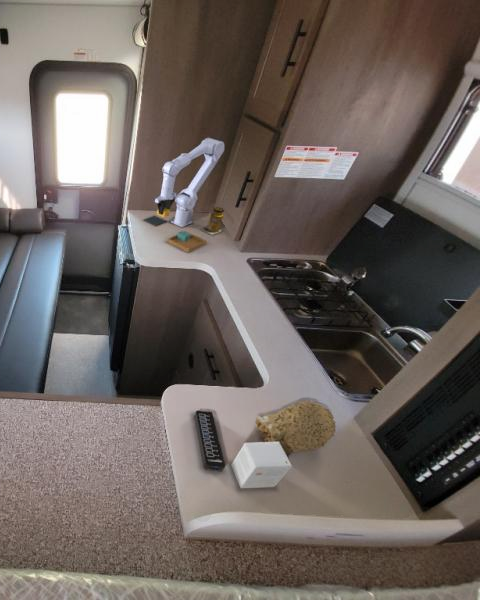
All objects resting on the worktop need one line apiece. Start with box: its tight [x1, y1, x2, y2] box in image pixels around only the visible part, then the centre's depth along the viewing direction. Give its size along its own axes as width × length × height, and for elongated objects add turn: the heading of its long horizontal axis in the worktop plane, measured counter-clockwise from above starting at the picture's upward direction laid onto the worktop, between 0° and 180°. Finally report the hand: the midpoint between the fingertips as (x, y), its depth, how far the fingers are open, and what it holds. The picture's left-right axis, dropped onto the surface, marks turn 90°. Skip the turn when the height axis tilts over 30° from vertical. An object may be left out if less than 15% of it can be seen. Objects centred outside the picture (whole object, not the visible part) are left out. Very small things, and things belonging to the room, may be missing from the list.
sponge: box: [255, 400, 337, 455], centre depth 83 cm, size 13×8×20 cm
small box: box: [230, 441, 293, 489], centre depth 73 cm, size 8×6×10 cm
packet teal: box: [176, 230, 192, 242], centre depth 167 cm, size 4×5×3 cm
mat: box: [143, 215, 167, 227], centre depth 185 cm, size 9×9×1 cm
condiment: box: [200, 206, 225, 236], centre depth 173 cm, size 7×8×12 cm
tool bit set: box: [193, 410, 226, 472], centre depth 82 cm, size 4×14×2 cm, turn 174°
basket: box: [166, 230, 207, 253], centre depth 164 cm, size 14×13×2 cm
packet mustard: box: [156, 208, 171, 218], centre depth 173 cm, size 4×5×3 cm
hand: (163, 212), depth 173 cm, fingers closed on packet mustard, 4 cm apart
